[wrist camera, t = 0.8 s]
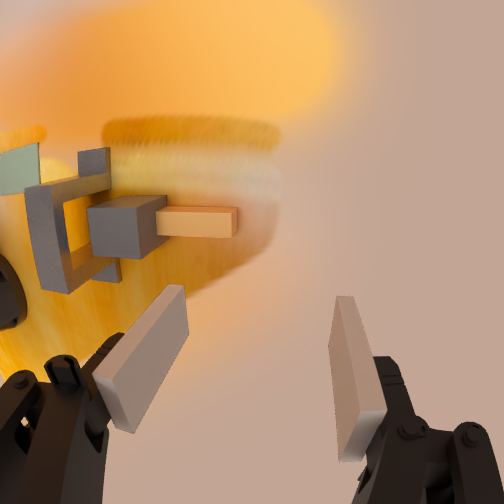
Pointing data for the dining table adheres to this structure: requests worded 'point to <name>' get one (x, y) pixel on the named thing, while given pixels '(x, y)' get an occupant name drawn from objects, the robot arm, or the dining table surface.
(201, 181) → the dining table surface
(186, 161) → the dining table surface
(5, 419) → the robot arm
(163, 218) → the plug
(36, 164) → the pad
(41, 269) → the housing
